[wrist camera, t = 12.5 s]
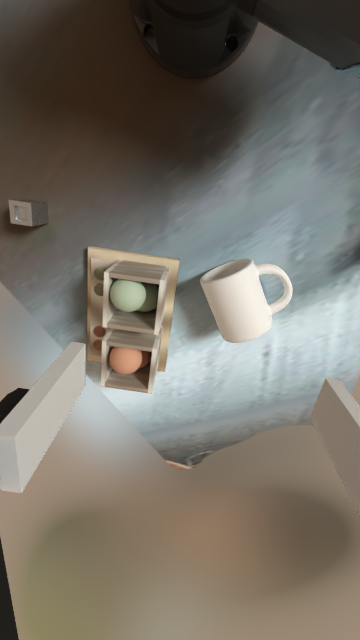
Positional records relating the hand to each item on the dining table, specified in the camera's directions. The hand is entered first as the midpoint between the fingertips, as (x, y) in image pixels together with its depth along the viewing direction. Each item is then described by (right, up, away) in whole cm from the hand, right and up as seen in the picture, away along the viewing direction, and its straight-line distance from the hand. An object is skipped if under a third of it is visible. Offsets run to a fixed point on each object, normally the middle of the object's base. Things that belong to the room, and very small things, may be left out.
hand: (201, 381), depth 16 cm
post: (-22, +20, +28) cm, 41 cm away
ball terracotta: (-9, -2, +27) cm, 29 cm away
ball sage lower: (-7, +7, +28) cm, 30 cm away
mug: (+9, +9, +31) cm, 33 cm away
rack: (-9, +5, +33) cm, 35 cm away
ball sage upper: (-8, +7, +23) cm, 26 cm away
